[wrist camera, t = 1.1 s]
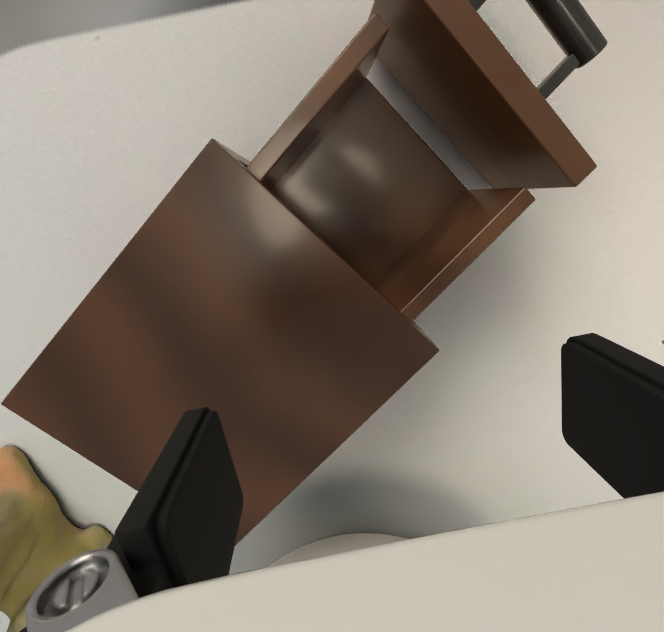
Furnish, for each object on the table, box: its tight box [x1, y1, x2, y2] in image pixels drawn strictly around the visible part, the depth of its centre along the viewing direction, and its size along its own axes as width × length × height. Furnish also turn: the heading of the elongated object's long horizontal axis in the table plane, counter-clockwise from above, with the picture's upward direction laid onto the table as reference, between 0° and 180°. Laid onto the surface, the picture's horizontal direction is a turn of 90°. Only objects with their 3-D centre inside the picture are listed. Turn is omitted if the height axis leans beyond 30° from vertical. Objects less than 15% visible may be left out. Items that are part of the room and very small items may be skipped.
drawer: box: [246, 0, 607, 322], centre depth 20 cm, size 18×12×8 cm, turn 137°
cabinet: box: [1, 139, 439, 545], centre depth 22 cm, size 15×13×10 cm
